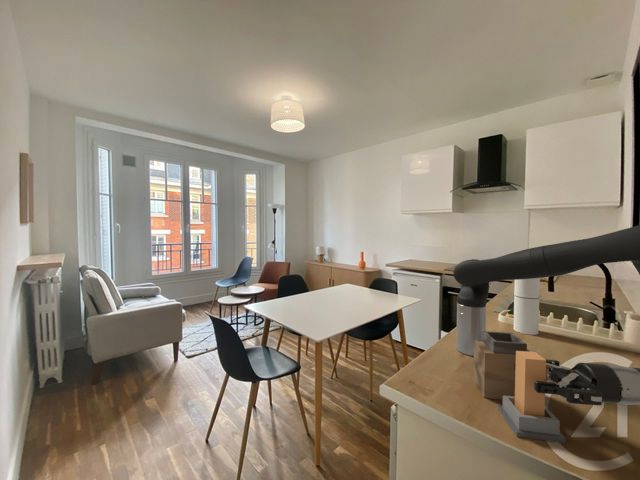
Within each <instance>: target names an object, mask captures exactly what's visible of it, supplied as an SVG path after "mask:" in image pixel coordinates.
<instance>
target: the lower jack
mask: <svg viewBox="0 0 640 480" xmlns="http://www.w3.org/2000/svg"><path fill="white" fill-rule="evenodd" d="M497 410H498V412H499V413H500V414H501V416H502V417H503V418H504V420H505V422H506V423H507V425H508V426H509V428H510V429H511V430H512V431H513V433H514V435H515V436H516V437H518V438H523V439H525V438H527V439H534V440H543V441H548V440H550V441H551V442H556V441H558V443H566V437H565V436H564V434H562V433H561V432H560V429H561V428H560V426H561V425H560V423H561V422H560V420H559V419H558V417H556V415H554V414H553V413H552V411H551V410H550V409H549V408H548V407H547V406H546V405H545V417H538V416H529V415H521V413H520V412H519V411H518V410H517V408H516V407H515V397H513V396H503V399H502V405H497Z"/></svg>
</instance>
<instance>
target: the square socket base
mask: <svg viewBox="0 0 640 480" xmlns="http://www.w3.org/2000/svg"><path fill="white" fill-rule="evenodd" d="M516 351H527V352H531V351H530V350H529V349H528V344H527V343H526V342H525V341H524V340H522V339H521V338H520V337H518V336H517V335H515V334H514V333H513V332H502V331H490V330H489V331H487V330H486V331H483V340H482V341H474V356H473V370H472V371H473V372H472V373H473V374H472V377H473V378H472V381H473V383H474V384H475V386H476V387H477V389H478V390H479V392H480V394H481V395H482V397H483V398H486V399H494V400H495V399H497V400H503V396H513V397H515V369H514V363H515V362H516Z"/></svg>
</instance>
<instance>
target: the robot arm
mask: <svg viewBox="0 0 640 480" xmlns="http://www.w3.org/2000/svg"><path fill="white" fill-rule="evenodd" d="M620 262H621V263H622V262H630V263H632V265H633V267H634V268H635V270H636V272H637V273H638V275H639V276H640V225H635V226H632V227H627V228H624V229H620V230H617V231H612V232H609V233H606V234H602V235H598V236H594V237H588V238H583V239H577V240H576V239H575V240H570V241H563V242H559V243H553V244H547V245H542V246H534V247H531V248H526V249H523V250H519V251H515V252H511V253H507V254H505V255H500V256H498V257H495V258H488V259H475V258H474V259H473V258H472V259H466V260H463V261H461V262H459V263H458V264H457V265H456V266H455V267H454V269H453V273H452V275H453V278H454V280H455V281H456V282H457V283H458V284H459V285H461V287H460V290H459V292H458V294H457V296H456V341H455V342H456V350H457V351H458V352H460V353H461V354H464V355H467V356H471V357H474V341H482V340H483V331H487V329H486V328H487V301H488V297H489V292H490V291H489V290H490V283H494V282H498V281H499V282H500V281H510V280H513V281H515V280H519V279H533V278H540V279H542V278H551V277H557V276H558V277H559V276H564V275H567V274H572V273H574V272H575V273H576V272H577V271H581V270H584V269H586V268H591V267H593V266H597V265H603V264H613V263H620ZM544 359H545V360H546V380H548V381H546V382H544V381H535V382H534V389H535V391H536V392H538V393H545V395H546V394H547V395H556V396H558V397H559V398H565V399H566V402H567V403H568V404H569V403H570V404H572V405H573V404H574V405H575V404H576V405H588V406H589V405H590V406H602V405H603V404H602V403H607V404H616V405H617V404H618V405H626V406H627V405H629V406H631V405H632V406H633V405H637V406H638V405H640V367H631V366H630V367H629V366H623V365H619V364H618V365H617V364H605V363H593V362H591V363H590V362H577V363H576V364H575V365H574V366H573V367H572V368H569V367H567V366H562V365H560V363H561V362H560V361H559V360H557V359H546V358H544ZM515 367H516V362H515V363H514V369H515ZM549 372H550V374H549ZM576 395H578V397H575V396H576Z"/></svg>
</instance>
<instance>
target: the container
mask: <svg viewBox="0 0 640 480" xmlns="http://www.w3.org/2000/svg"><path fill="white" fill-rule="evenodd" d="M540 284H541V278H533V279H519V280H514V290H513V291H514V292H513V293H514V296H513V297H514V298H513V299H514V301H513V330H514V331H515V332H517V333H519V332H520V334H523V335H531V336H534V335H539V324H540V323H539V321H540V320H539V319H540V318H539V317H540V291H541V290H540V288H541V287H540Z"/></svg>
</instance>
